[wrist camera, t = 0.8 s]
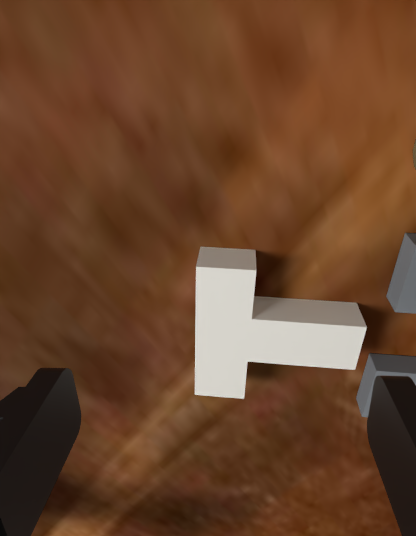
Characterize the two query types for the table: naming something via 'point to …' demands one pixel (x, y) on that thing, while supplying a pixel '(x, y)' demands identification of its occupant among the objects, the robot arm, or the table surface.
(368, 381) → the t bay
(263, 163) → the table surface
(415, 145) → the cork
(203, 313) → the t block
